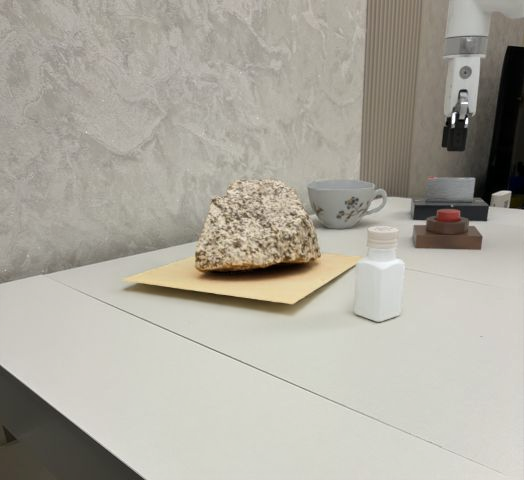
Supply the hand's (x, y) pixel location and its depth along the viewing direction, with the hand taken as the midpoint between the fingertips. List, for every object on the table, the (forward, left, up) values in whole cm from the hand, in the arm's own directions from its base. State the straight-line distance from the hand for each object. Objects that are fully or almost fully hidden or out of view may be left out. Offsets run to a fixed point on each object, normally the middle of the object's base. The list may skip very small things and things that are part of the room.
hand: (452, 149), depth 107 cm
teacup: (+20, +12, -13) cm, 26 cm away
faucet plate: (0, 0, -13) cm, 13 cm away
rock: (+31, +46, -13) cm, 57 cm away
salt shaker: (+14, +61, -13) cm, 64 cm away
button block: (+3, +25, -13) cm, 28 cm away
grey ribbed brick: (0, 0, -10) cm, 10 cm away
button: (+3, +25, -9) cm, 27 cm away
